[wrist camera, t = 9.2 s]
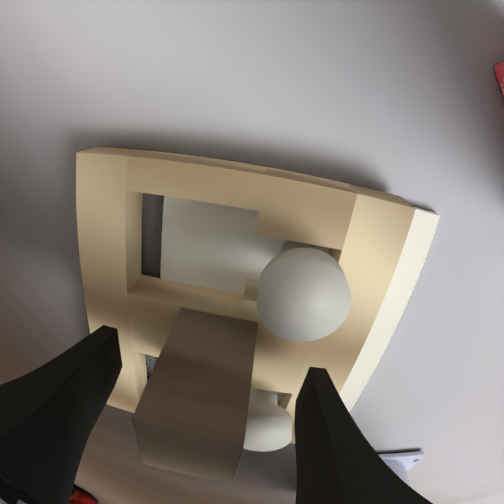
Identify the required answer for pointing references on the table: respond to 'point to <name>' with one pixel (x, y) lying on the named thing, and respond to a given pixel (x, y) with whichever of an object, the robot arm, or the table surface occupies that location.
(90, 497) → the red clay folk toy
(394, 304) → the boss plate
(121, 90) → the table surface
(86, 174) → the panel
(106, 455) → the table surface
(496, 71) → the ink box
